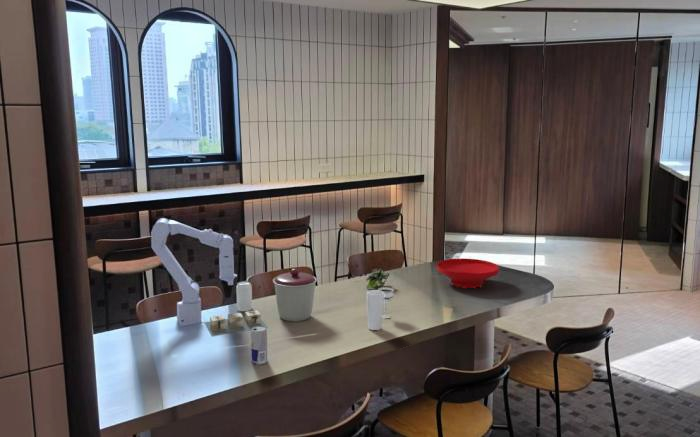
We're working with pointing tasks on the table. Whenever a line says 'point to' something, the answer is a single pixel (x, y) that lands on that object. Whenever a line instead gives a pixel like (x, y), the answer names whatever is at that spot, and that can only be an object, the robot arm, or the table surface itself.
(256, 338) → the energy drink
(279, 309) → the canister
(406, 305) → the table surface
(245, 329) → the mat
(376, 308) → the drinking glass
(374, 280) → the green leafy plant
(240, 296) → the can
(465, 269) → the bowl
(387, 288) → the wineglass
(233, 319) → the plain block
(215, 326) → the beige square block
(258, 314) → the block numbered 7
